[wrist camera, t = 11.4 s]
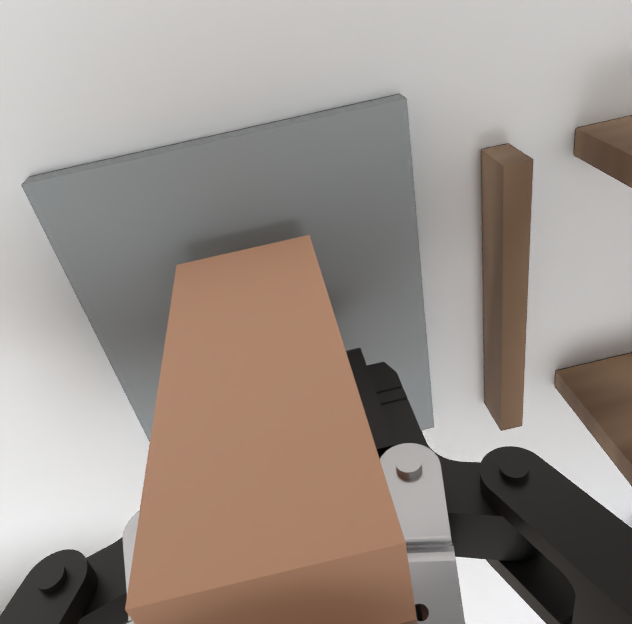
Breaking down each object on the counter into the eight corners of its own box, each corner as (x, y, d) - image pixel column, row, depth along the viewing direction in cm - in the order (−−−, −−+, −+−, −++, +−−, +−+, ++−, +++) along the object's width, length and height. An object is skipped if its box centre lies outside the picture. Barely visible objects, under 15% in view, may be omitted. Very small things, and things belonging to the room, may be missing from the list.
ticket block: (309, 234, 14) (405, 542, 7) (348, 425, 18) (437, 755, 11) (176, 265, 14) (125, 609, 7) (243, 449, 18) (259, 799, 11)
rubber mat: (400, 94, 15) (406, 98, 14) (429, 416, 21) (434, 427, 21) (28, 177, 14) (21, 185, 14) (174, 476, 21) (173, 488, 21)
